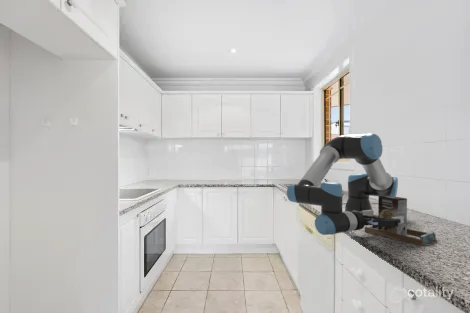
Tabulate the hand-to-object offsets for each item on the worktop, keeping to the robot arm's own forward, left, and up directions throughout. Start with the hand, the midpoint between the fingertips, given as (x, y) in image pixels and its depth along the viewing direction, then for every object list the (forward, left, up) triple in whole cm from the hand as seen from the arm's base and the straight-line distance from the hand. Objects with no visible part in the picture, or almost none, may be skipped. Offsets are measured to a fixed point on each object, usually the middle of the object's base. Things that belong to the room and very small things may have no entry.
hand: (386, 216), depth 110 cm
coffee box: (-4, 0, -8) cm, 9 cm away
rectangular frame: (-4, +3, -8) cm, 10 cm away
